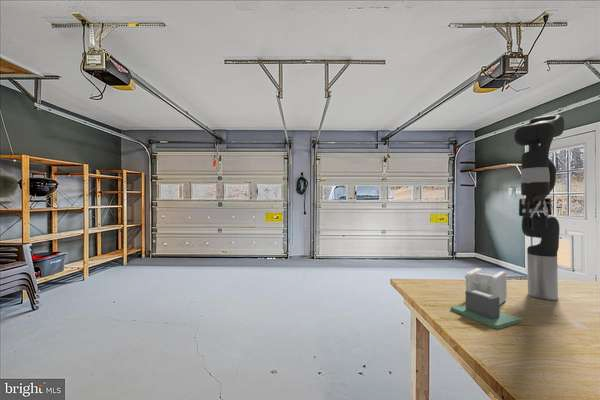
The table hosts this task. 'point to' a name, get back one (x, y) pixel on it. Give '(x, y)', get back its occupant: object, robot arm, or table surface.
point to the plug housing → (482, 303)
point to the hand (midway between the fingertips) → (535, 228)
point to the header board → (495, 322)
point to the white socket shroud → (487, 283)
